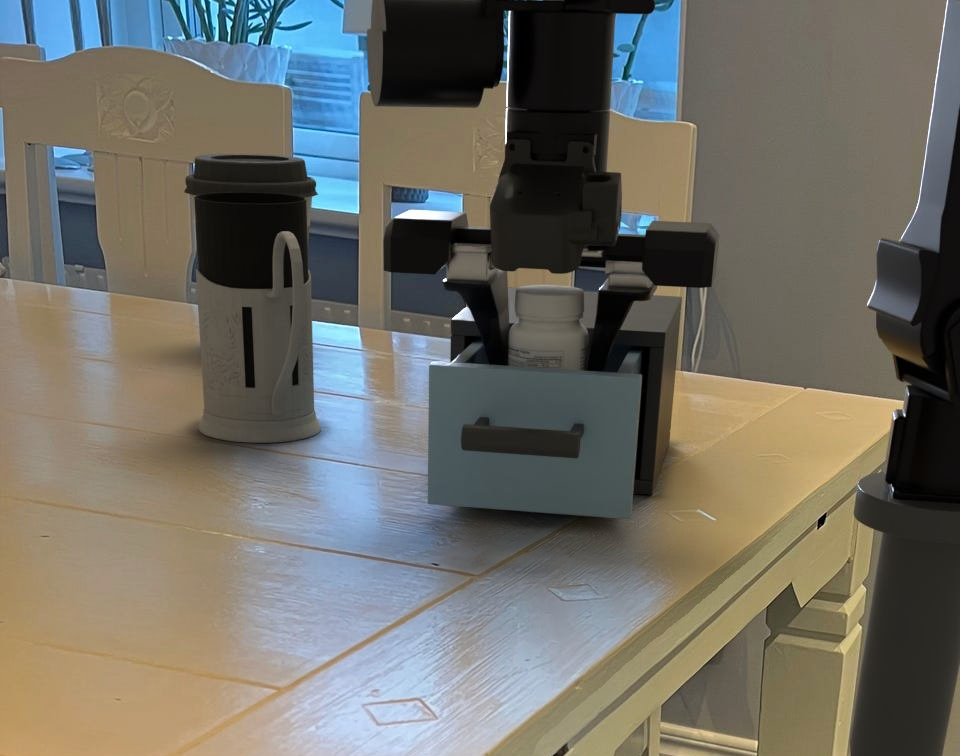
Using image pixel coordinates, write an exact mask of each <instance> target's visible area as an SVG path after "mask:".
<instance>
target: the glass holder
mask: <svg viewBox="0 0 960 756" xmlns="http://www.w3.org/2000/svg"><path fill="white" fill-rule="evenodd" d="M194 201H195V217H194V220H195V219H196V223H195V232H196V233H195V234H196V249H197V251H196V252H197V267H198V268H195V278H196V279H195V280H196V294H197V295H196V296H197V297H196V298H197V312H198V313H197V314H198V330H199V345H200V359H201V360H200V361H201V363H200V364H201V377H202V378H201V379H202V396H203V411H202V417H201V419H200V421H199V425H198V431H199V432H200V433H201V434H203V435H204V436H207V437H210V438H213V439H217V440H223V441H228V442H236V443H254V444H256V443H258V444H259V443H260V444H261V443H263V444H264V443H265V444H266V443H282V442H291V441H292V442H293V441H298V440H305V439H308V438H312V437H314V436H316V435H318V434H319V433H320V432H321V431H322V426H321V423H320V421H319V419H318V417H317V414H316V409H315V386H314V385H315V382H314V381H315V380H314V346H313V344H314V342H313V340H314V339H313V337H314V336H313V304H312V275H311V271H310V269H309V240H308V241H307V202H306V198H304V197H301V196H296V195H289V194H279V193H263V192H220V193H207V194H200V195H197V196H195V197H194Z"/></svg>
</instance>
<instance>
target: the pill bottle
mask: <svg viewBox="0 0 960 756" xmlns="http://www.w3.org/2000/svg"><path fill="white" fill-rule="evenodd" d="M584 291H585V290H584V289H582V288H581V287H575V286H572V285H571V286H570V285H558V284H532V285H531V284H530V285H523V286H520V287H517V289H516V295H515V311H516V316H517V317H519V321H518V322H516V323H515V324H513V325H512V327H511V328H510V330H509V337H508V366H518V367H533V368H549V369H565V370H581V371H587V361H588V331H587V329H586V327H585V326H584V325H582V324H581V323H580V322H579V319H581V318H582V317H583V314H582V313H583V312H584Z"/></svg>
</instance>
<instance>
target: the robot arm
mask: <svg viewBox="0 0 960 756" xmlns="http://www.w3.org/2000/svg"><path fill="white" fill-rule="evenodd" d="M371 1H372V2H371V10H370V12H371V13H370V28H367V29H366V56H367V58H366V59H367V74H368V85H369V91H370V96H371V100H372V104H373V105H374V107H384V108H385V107H387V108H388V107H392V108H393V107H396V108H397V107H398V108H457V109H458V108H459V109H460V108H463V109H465V108H466V109H467V108H468V109H477V108H478V107H479V106H480V105H481V102H482V99H483V96H484V91H485V90H492V89H493V90H494V88H497V87H499V84H500V82H501V79H502V75H503V68H504V58H505V28H504V27H505V26H504V25H505V24H504V17H505V15H504V13H505V12H506V11H507V12H508V38H507V39H508V40H507V42H508V43H507V71H506V72H507V78H506V107H507V108H506V109H505V110H506V111H505V145H504V160H503V164H502V167H501V169H500V173H499V175H498V178H497V179H498V180H497V182H496V185H495V187H494V191H493V195H492V197H491V200H490V203H489V227H485V226H484V227H481V226H469V222H468V221H469V220H468V214H467V212H466V211H447V210H446V211H445V210H423V209H421V210H420V209H409V210H408V211H405V212H403V213H401V214H399V215H397V216H395V217H393V218H392V219H391V221H390V222H389V223H388V224H387V225H386V227H385V228H384V234H383V239H382V240H383V241H382V242H383V244H382V245H383V247H382V248H383V249H382V250H383V252H382V253H383V255H382V256H383V271H384V272H388V273H393V274H395V273H396V274H415V275H416V274H417V275H437V274H438V273H439V272H440V271H441V270H442V269H443V268H444V267H446V268H445V269H446V270H445V271H446V273H445V278H444V279H443V280H442V281H441V283H442V287H443V288H442V289H443V290H444V291H447V292H456V293H458V294H459V295H460V297H461V299H462V300H463V302H464V303H465V304H466V307H467V306H468V308H469V310H470V312H471V314H472V316H473V318H474V321H475V323H476V325H477V328H478V330H479V333H480V335H481V339H482V342H483V345H484V347H485V352H486V355H487V359H488V362H489V365H502V366H508V337H509V330H510V328H509V302H508V287H509V283H508V282H509V281H508V279H509V278H508V272H516V271H517V270H519V269H525V270H526V269H528V270H547V271H549V272H550V274H553V275H555V274H556V275H565V274H570V273H573V272H575V271H576V270H578V269H579V268H580V267H581V268H582V267H583V268H600V269H604V270H605V271H604V275H605V276H608V277H607V279H606V280H605V281H604V283H603V284H602V285H601V287H599V289H598V291H597V292H598V301H597V312H596V319H595V325H594V331H593V337H592V343H591V349H590V355H589V361H588V366H587V371H597V372H604V371H605V368H606V365H607V363H608V360H609V357H610V354H611V352H612V349H613V346H614V343H615V341H616V338H617V336H618V333H619V331H620V329H621V327H622V325H623V323H624V321H625V319H626V317H627V315H628V313H629V311H630V309H631V307H632V305H633V303H634V301H648V300H650V299H651V298H652V296H653V295H655V293H656V290H657V289H658V287H677V288H696V289H703V288H704V289H705V288H712V287H713V285H714V284H713V283H714V281H715V278H716V276H717V269H718V268H717V267H718V258H719V257H718V256H719V246H720V234H719V232H718V231H717V229H716V228H715V227H714V226H713V224H712V222H692V221H690V222H689V221H669V220H651V222H650V223H649V225H648V226H647V227H646V228H645V233H644V234H635V233H620V230H621V225H622V207H623V206H622V205H623V188H622V186H623V185H622V184H623V183H622V172H617V171H616V172H615V171H608V158H609V157H608V155H609V140H610V139H609V138H610V121H611V120H610V119H611V111H610V110H611V101H612V100H611V99H612V83H613V68H614V67H613V65H614V47H615V30H616V15H617V14H618V15H651V14H652V13H654V11H655V9H656V1H655V0H371ZM925 147H926V148H925V155H924V162H923V169H922V177H921V183H920V189H919V195H918V196H919V197H918V203H917V206H916V209H915V211H914V213H913V216H912V217H911V218H910V219H911V220H910V221H909V223H908V225H907V227H906V228H905V230H904V232H903V234H902V236H901V238H900V239H899V240H897V239H896V240H895V239H890V238H886V237H882V238H880V239H879V240H878V243H877V248H876V254H875V255H876V257H875V258H876V276H875V277H876V280H875V284H874V288H873V291H872V293H871V296H870V298H869V300H868V301H867V305H866V307H867V309H869V310H871V311H874V312H875V328H876V332H877V333H876V334H877V336H878V338H879V339H880V340H881V342H882V343H883V345H884V346H885V347H886V348H887V350H888V352H890V353H892V359H893V365H894V371H895V377H896V380H898V382H899V381H900V382H902V383H906V384H907V385H906V386H905V392H904V399H903V405H902V409H900V408H896V409H895V410H894V411H893V412H892V415H891V422H890V427H889V434H888V439H887V447H886V452H885V453H886V454H885V460H884V467H883V472H884V478H885V481H886V482H887V484H890V488H891V494H892V497H893V498H895V499H902V500H916V501H930V502H944V503H958V504H960V0H947V1H946V8H945V14H944V21H943V27H942V35H941V41H940V49H939V56H938V62H937V71H936V77H935V85H934V92H933V99H932V105H931V112H930V118H929V127H928V134H927V141H926V146H925Z"/></svg>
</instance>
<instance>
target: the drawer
mask: <svg viewBox="0 0 960 756" xmlns="http://www.w3.org/2000/svg"><path fill="white" fill-rule="evenodd" d="M590 349H591V343H588V361H589V355H590ZM645 356H646V347H643V346H627V345H614V346H613V349H612V352H611V354H610V357H609V360H608V363H607V365H606V368H605V371H604V372H597V371H581V370H565V369H549V368H533V367H518V366H502V365H489V362H488V359H487V355H486V352H485V347H484V345H483V342H482V339H481V337H478V338H477V339H476V340H475V341H474V342H472V343H471V344H470V345H469V346H468V347H467V348H466V349H465V350H464V351H463V352H462V353H461V354H460V355H459V356H458V357H457V358H456V359H455V360H454V361H453V362H450V361H437V360H434V361H432V362H431V363H429V365H428V421H427V422H428V424H427V425H428V426H427V428H428V430H427V431H428V432H427V434H428V435H427V436H428V437H427V438H428V439H427V446H428V447H427V504H428V505H432V506H433V505H435V506H446V507H447V506H449V507H461V508H473V509H475V508H476V509H489V510H500V511H516V512H527V513H528V512H529V513H539V514H540V513H542V514H554V515H555V514H556V515H567V516H568V515H569V516H580V517H594V518H607V519H618V520H630V519H631V516H632V514H633V501H634V494H633V489H634V476H635V463H636V461H637V458H638V446H639V434H640V421H641V408H642V395H643V382H644V369H645ZM588 361H587V366H588Z"/></svg>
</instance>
